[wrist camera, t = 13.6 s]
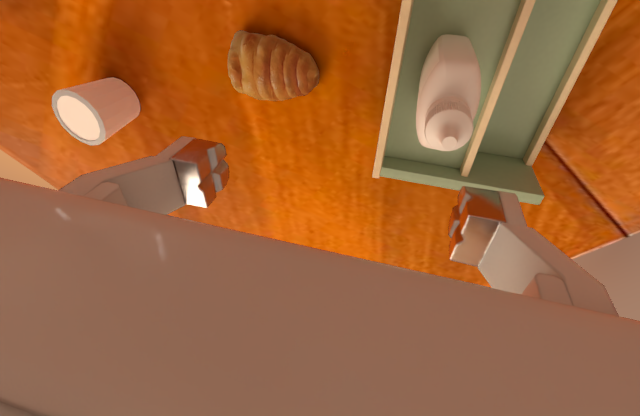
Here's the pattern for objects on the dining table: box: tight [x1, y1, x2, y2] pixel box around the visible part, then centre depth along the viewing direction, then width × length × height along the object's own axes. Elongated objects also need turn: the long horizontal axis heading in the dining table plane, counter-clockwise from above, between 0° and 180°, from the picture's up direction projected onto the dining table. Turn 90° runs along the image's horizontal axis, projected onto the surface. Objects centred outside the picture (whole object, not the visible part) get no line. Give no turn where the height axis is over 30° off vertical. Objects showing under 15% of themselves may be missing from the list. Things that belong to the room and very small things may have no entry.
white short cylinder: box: [52, 77, 140, 145], centre depth 41 cm, size 7×7×7 cm
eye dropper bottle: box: [416, 34, 481, 151], centre depth 21 cm, size 4×6×12 cm
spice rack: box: [372, 0, 618, 205], centre depth 26 cm, size 18×14×11 cm
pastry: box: [228, 30, 319, 101], centre depth 34 cm, size 9×7×4 cm
